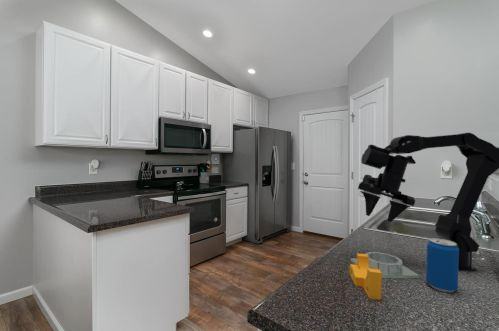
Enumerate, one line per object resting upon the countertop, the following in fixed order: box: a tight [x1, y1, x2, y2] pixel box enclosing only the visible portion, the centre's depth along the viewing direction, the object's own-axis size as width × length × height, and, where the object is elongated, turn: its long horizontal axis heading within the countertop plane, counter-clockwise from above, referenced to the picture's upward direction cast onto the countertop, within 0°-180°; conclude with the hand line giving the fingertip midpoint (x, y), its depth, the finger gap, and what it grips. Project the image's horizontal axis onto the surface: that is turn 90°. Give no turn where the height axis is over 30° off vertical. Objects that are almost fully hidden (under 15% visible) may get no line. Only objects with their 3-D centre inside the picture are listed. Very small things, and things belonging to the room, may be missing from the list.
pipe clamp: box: [349, 253, 383, 301], centre depth 62 cm, size 12×4×6 cm, turn 169°
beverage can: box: [425, 237, 459, 293], centre depth 63 cm, size 6×6×12 cm
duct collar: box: [350, 251, 421, 279], centre depth 73 cm, size 14×12×3 cm
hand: (378, 218), depth 79 cm, fingers open, 9 cm apart
